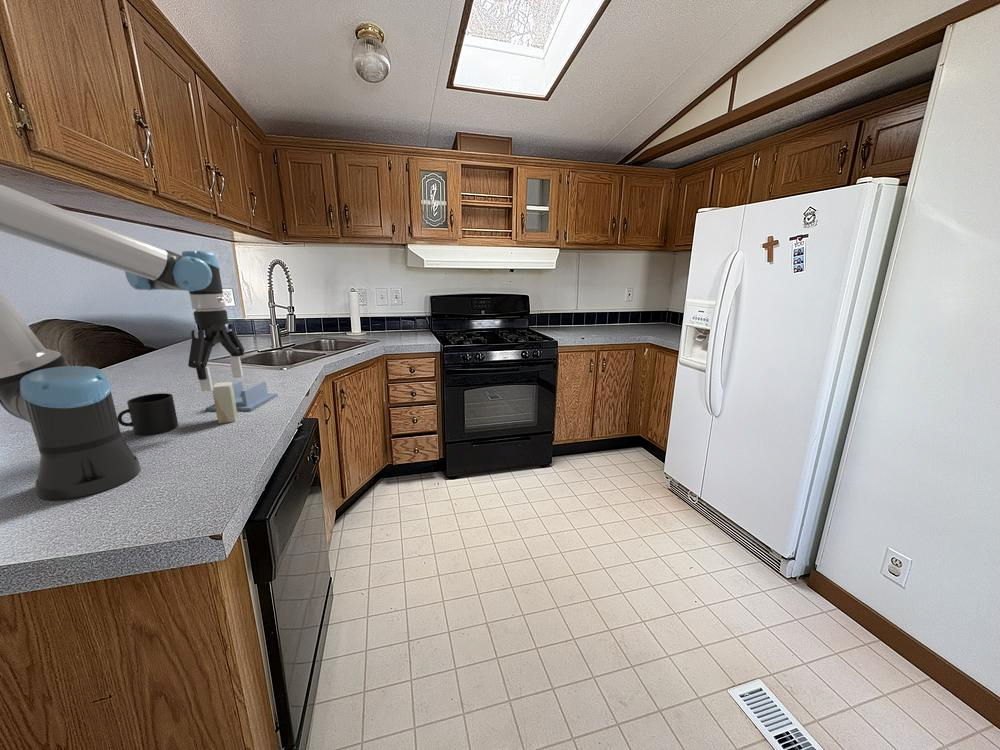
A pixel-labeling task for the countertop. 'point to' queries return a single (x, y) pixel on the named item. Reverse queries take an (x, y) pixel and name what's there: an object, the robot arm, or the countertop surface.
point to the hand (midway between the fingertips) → (223, 383)
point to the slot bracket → (249, 396)
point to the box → (225, 402)
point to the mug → (151, 414)
